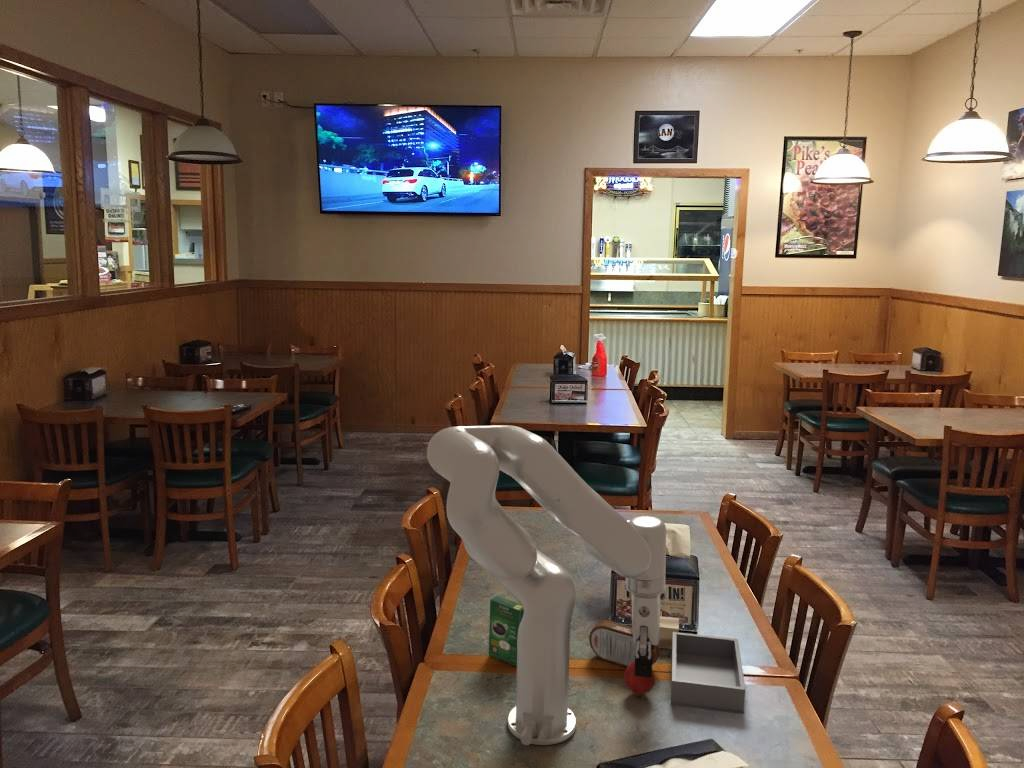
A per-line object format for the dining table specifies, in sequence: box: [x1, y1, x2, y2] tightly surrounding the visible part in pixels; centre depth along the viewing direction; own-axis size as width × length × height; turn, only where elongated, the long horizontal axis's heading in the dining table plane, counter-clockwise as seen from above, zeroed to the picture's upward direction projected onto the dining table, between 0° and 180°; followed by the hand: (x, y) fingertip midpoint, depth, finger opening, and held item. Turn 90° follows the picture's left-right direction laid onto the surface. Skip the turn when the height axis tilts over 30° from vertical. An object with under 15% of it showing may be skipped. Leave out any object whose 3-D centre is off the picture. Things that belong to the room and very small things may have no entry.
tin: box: [588, 619, 660, 668], centre depth 167 cm, size 15×3×8 cm, turn 59°
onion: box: [623, 661, 656, 696], centre depth 156 cm, size 6×6×8 cm
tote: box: [670, 632, 746, 715], centre depth 161 cm, size 20×14×5 cm
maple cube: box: [658, 615, 680, 650], centre depth 176 cm, size 5×5×5 cm
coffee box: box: [488, 595, 524, 668], centre depth 168 cm, size 8×3×13 cm, turn 54°
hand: (644, 662), depth 156 cm, fingers open, 9 cm apart
